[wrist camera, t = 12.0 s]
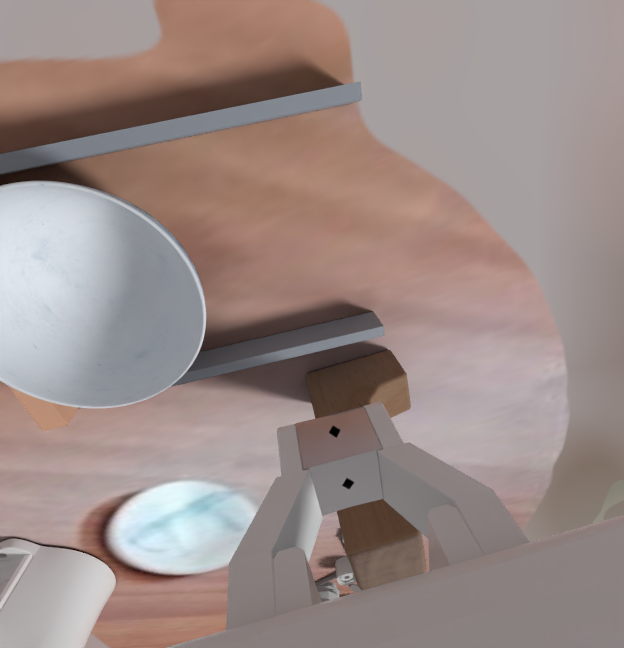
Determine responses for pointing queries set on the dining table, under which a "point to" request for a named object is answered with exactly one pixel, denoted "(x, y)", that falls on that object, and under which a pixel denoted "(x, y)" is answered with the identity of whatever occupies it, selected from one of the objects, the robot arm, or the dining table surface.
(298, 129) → the dining table surface
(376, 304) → the dining table surface
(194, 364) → the wooden tray
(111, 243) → the chinaware
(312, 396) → the wooden block
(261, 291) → the dining table surface
